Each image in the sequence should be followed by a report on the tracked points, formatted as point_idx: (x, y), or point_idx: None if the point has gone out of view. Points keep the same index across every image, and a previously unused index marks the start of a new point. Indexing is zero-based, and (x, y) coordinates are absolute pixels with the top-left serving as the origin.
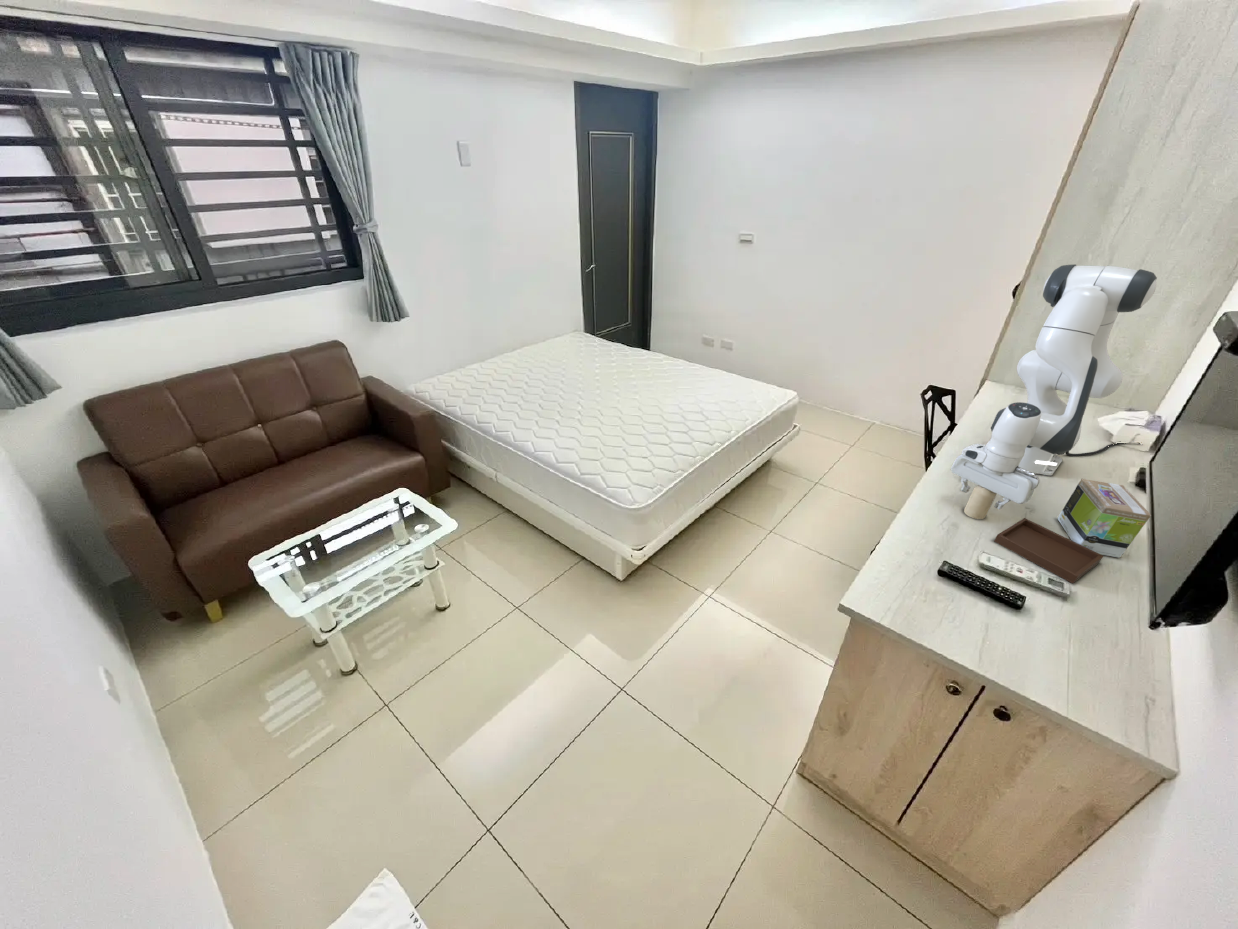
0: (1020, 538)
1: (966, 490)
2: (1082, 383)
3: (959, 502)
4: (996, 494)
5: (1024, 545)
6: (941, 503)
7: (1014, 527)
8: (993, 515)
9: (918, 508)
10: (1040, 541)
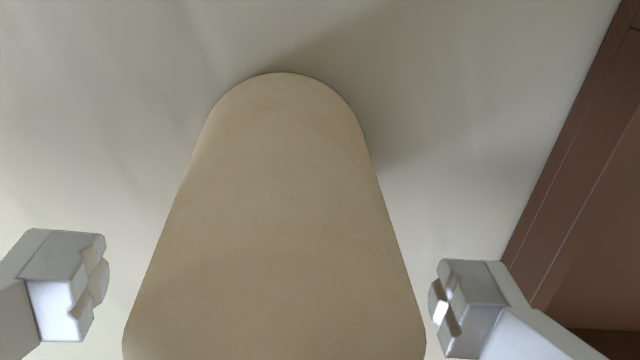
0: (614, 229)
1: (89, 296)
2: None
3: (109, 69)
4: (425, 336)
5: (632, 276)
6: (53, 204)
7: (588, 234)
8: (403, 35)
9: (38, 353)
10: None
